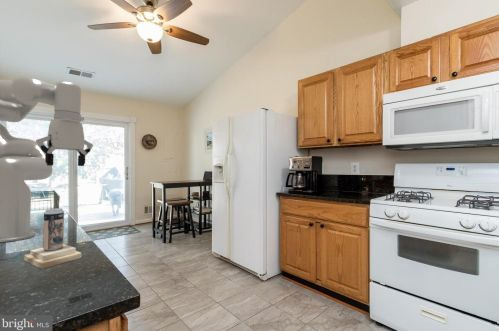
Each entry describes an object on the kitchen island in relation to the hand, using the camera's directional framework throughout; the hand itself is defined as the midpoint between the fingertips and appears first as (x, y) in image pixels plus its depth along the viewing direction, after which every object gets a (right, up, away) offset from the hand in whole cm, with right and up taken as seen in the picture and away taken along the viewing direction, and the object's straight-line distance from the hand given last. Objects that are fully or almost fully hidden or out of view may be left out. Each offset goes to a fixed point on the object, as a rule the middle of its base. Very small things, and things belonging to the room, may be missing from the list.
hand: (66, 165), depth 88 cm
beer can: (+6, -25, -13) cm, 29 cm away
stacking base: (+6, -28, -13) cm, 32 cm away
